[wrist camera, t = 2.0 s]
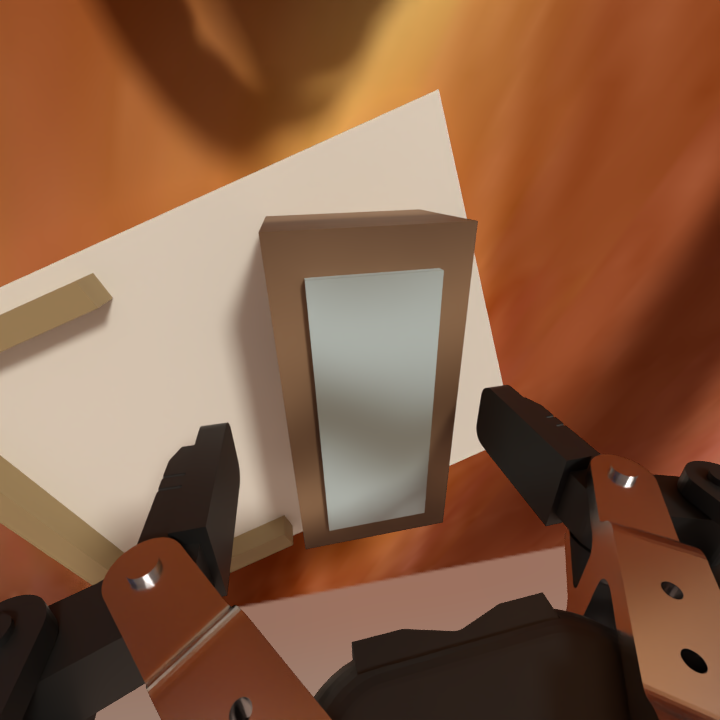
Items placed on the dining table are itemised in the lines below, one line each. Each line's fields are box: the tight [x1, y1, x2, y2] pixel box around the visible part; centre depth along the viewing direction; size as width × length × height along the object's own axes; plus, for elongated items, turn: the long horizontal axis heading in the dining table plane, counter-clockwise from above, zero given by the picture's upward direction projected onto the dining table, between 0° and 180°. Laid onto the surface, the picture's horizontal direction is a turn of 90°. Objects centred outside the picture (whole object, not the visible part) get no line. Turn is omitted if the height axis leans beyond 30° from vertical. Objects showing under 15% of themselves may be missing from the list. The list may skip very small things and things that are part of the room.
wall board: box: [0, 89, 503, 585], centre depth 16 cm, size 24×17×2 cm
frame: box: [258, 209, 478, 549], centre depth 14 cm, size 12×6×5 cm, turn 1°
